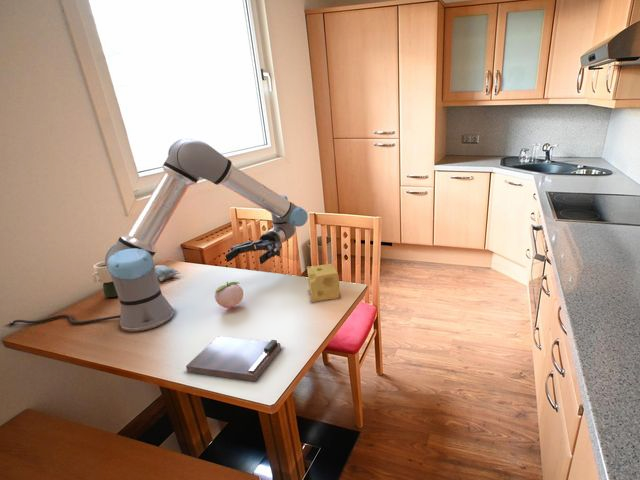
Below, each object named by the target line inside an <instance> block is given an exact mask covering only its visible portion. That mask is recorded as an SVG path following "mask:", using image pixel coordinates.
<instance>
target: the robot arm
mask: <svg viewBox="0 0 640 480" xmlns="http://www.w3.org/2000/svg"><path fill="white" fill-rule="evenodd" d="M162 169H163V174H162V176H161V177H160V180H159V181H158V183H157V185H155V188H154V190H153V191H152V193H151V194H150V196H149V197H148V199H147V201H146V202H145V204H144V206H143V208H142V209H141V211H140V212H139V214H138V216H137V217H136V220H135V221H134V223H133V225H132V227H131V228H130V229H129V232H127V233H124V234H121V235H120V236H119V238H118V239H117V241H116V243H115V244H113V245H112V246H110V248H109V249H108V250H107V252H106V254H105V256H104V261H105V264H106V267H107V269H108V271H109V273H110V275H111V277H112V280H113V283H114V286H115V289H116V292H117V295H118V296H117V297H118V300H119V303H120V314H119V315H111V316H107V317H100V318H94V319H93V318H92V319H88V320H79V321H78V320H73V317H72V315H70V314H65V313H64V314H56V315H54V316H53V315H52V316H50V317H46V318H42V319H37V320H26V319H14V320H12V321H13V323H11V322H9V324H8V326H9V327H10V326H13V325H14V324H16V323H25V324H40V323H43V322H47V321H52V320H54V319H58V318H68V320H69V322H70V323H71V324H75V325H80V324H89V323H96V322H101V321H107V320H108V321H109V320H113V319H119V325H120V328H121V330H122V331H124V332H129V333H137V332H145V331H148V330H152V329H155V328H157V327H159V326H162V325H164V324H166V323H167V322H168V321H170V320H171V319H172V318H173V316H174V313H175V312H174V309H173V306H172V304H170V303H169V301H168V300H167V298H166V297H165V296H164V295H163V293H162V289H161V285H160V281H158V278H157V275H156V271H155V268H154V267H155V266H154V259H153V258H154V256H155V255H156V253H157V252H158V250H157V248H156V244H157V242H158V240H159V238H160V236H161V235H162V233H163V231H164V230H165V228H166V227H167V225H168V223H169V221H170V219H171V218H172V216H173V215H174V213H175V211H176V210H177V207H178V206H179V204H180V203H181V201H182V199H183V198H184V196H185V194H186V192H187V190H188V189H189V188H190V186H193V185H196V184H198V182H199V180H200V178H201V179H204V180H206V181H209V182H211V183H212V184H214V185H216V186H219V185H222V186H223V187H226V189H229V190H230V191H233V192H234V193H236V194H237V195H239V196H241V197H242V198H244V199H247V200H248V201H250V202H251V203H253V204H255V205H256V206H258V207H260V208H262V209H264V210H265V211H267V212H269V213H270V214H271V220H272V228H271V229H269V230H267V231H266V232H264V233H263V234H261V235H260V237H259V239H258V240H256V241H253V239H250V240H248V241H246V242H242V243H239V244H236V245H233V246H230V251H229V252H228V253H226V254H225V260H226V262H227V263H229V262H231V261H232V260H234V259H235V258H237V257H238V256H239V255H241V254H245V253H249V252H257V251H265V252H264V253H262V254H261V255H260V256H259V257H258V258H259V264H260V265H263V264H264V263H265V262H267V261H268V260H270V259H272V258H274V257H281V249H282V248H283V245H282V244H284V243H285V242H286V241H289V240H290V239H291V238H292V237H293V236H294V235H295V233H296V231H297V228H296V227H303V226H304V225H305V224H306V223H307V221H308V219H309V215H308V211H306V210H305V209H304V208H302V207H301V206H298V205H296V204H294V203H293V202H291V201H289V199H288V196H287V195H285V194H278V193H277V192H276V191H274V190H273V189H271V188H269V187H268V186H266V185H264V184H263V183H261V182H260V181H259V180H256V179H255V178H253V177H252V176H250V175H249V174H247V173H245V172H244V171H242V170H241V169H239V168H237V167H236V166H234V164H233V162H232V160H230V159H229V158H228V157H226V156H225V155H223V154H221V152H219V151H217V150H216V149H215V148H214V147H212V146H211V145H209V144H208V143H206V142H205V141H202V140H199V139H198V140H197V139H193V138H188V137H187V138H181V139H178V140H176V141H174V142H173V143H172V144H171V145H170V147H169V148H168V152H167V157H166V159H165V161H164V162H163V164H162Z"/></svg>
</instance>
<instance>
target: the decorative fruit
mask: <svg viewBox="0 0 640 480" xmlns="http://www.w3.org/2000/svg"><path fill="white" fill-rule="evenodd" d="M240 284H241V283H240V282H239V281H230V282H228V281H226V283H225V284H223V285H220V286H218V287H217V289H216V290H215V292H214V300H215V302H216V303H217V304H218V305H219V306H221V307H222V308H226V309H233V308H234V307H236V306H237V305H239V304H240V303H241V302H242V300H243V298H244V289H243V288H242V287H241V286H240Z"/></svg>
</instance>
